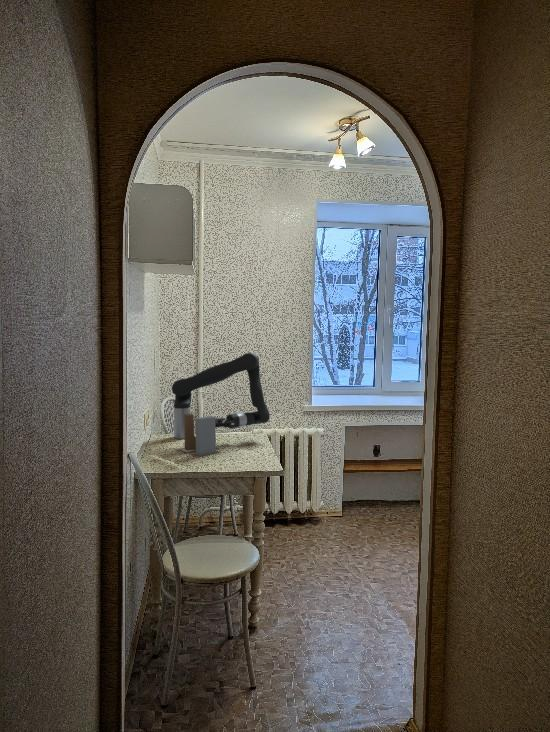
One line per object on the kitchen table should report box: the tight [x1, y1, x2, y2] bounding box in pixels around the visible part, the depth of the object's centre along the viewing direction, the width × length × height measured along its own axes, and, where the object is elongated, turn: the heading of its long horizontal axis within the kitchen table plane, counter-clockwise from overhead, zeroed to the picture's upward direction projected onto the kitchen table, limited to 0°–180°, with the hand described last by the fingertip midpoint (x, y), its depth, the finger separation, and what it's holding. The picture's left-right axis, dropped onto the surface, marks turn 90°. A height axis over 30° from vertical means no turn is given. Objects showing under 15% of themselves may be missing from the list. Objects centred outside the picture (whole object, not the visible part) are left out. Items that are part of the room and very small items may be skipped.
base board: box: [175, 447, 222, 458], centre depth 290 cm, size 22×14×1 cm, turn 39°
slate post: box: [194, 415, 217, 456], centre depth 284 cm, size 4×9×18 cm, turn 129°
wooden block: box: [184, 413, 196, 450], centre depth 293 cm, size 9×4×18 cm, turn 104°
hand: (210, 424), depth 299 cm, fingers open, 8 cm apart
